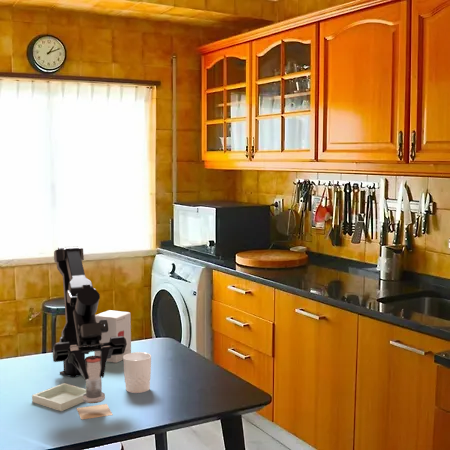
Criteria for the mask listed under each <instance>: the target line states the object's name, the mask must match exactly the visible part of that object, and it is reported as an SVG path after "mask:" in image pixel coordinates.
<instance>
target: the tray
mask: <svg viewBox="0 0 450 450" xmlns="http://www.w3.org/2000/svg"><path fill="white" fill-rule="evenodd" d="M84 394H86V388H83V387H81V386H77V385H76V386H75V385H72V384H70V383H66V382H65V383H64V382H63V383H60V384H58V385H55V386H53V387H51V388H48V389H45V390H42V391H40V392H37V393H34V394H32V395H31V399H32V400H31V401H32V403H33V404H34V403H35V404H38V405H40V406H44V407H47V408H50V409H53V410H56V411H59V412H63V411H65V410H68V409H71V408H73V407H75V406H77V405H80V404H82V403H85V402H84V401H83V395H84Z"/></svg>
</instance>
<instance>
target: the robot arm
mask: <svg viewBox="0 0 450 450" xmlns="http://www.w3.org/2000/svg"><path fill="white" fill-rule="evenodd" d="M53 258H54V259H53V260H54V263H55V264H56V269H57V271H58V272H59V274H60V275H61V276H62V283H63V284H62V285H63V299H64V301H63V302H64V310H65V312H64V314H65V323H64V326H63V329H62V331H61V336H60V337H59V341H58V342H55V343H54V344H53V347H52V361H53V362H54V363H59V362H63V364H62V365H63V370H62V371H59V374H60V375H62V376H67V377H71V378H76V377H79V376H82V378H83V379H84V381H86V380H87V375H86V370H85V358H86V355H90V353H93V352H94V351H100V352H101V355H100V357H101V379H103V378H104V377H105V372H106V365H107V362H108V361H107V359H109V358H111V355H112V356H113V355H121V354H123V353H124V351H125V348H126V345H127V343H126V339H125V338H124V337H123V336H118V337H110V341H109V342H108V343H100V341H101V339H102V337H101V335H102V333H106V332H108V322H107V320H100V321H99V323H97V322H96V316H95V315H96V313H97V310H98V306H99V302H100V298H101V295H100V293H99V292H98V290H97V289H96V288H94V285H93V283H92V281H91V280H90V279H88V278H87V277H86V274H85V269H84V266H83V265H84V264H83V261H85V255H84V248H82V247H80V246H64V247H57V249H54V252H53Z"/></svg>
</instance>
